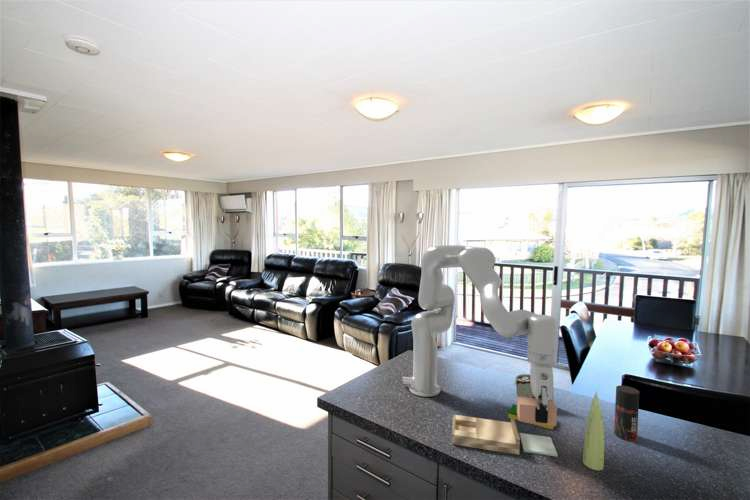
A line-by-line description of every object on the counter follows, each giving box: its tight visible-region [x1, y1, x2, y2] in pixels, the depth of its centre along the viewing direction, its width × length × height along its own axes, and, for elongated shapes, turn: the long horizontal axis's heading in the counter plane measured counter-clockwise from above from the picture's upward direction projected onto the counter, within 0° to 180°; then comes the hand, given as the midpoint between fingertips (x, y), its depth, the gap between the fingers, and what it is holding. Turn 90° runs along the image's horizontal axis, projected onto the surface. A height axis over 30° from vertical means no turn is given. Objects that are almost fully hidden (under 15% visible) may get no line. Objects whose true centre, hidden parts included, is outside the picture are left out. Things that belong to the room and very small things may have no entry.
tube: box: [582, 391, 605, 471], centre depth 96 cm, size 6×5×20 cm
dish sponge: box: [507, 403, 555, 430], centre depth 121 cm, size 7×14×2 cm, turn 57°
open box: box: [451, 414, 521, 456], centre depth 109 cm, size 19×12×4 cm, turn 76°
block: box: [516, 395, 558, 427], centre depth 106 cm, size 5×5×10 cm
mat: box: [518, 432, 559, 458], centre depth 106 cm, size 9×9×1 cm
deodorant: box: [613, 385, 640, 442], centre depth 111 cm, size 6×6×15 cm
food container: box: [513, 373, 533, 398], centre depth 132 cm, size 12×6×10 cm, turn 84°
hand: (539, 416), depth 106 cm, fingers closed on block, 5 cm apart
